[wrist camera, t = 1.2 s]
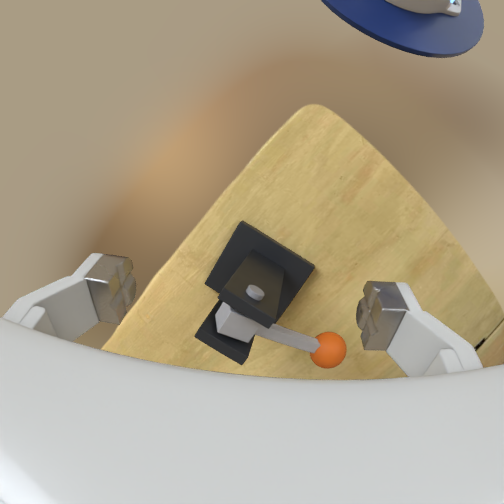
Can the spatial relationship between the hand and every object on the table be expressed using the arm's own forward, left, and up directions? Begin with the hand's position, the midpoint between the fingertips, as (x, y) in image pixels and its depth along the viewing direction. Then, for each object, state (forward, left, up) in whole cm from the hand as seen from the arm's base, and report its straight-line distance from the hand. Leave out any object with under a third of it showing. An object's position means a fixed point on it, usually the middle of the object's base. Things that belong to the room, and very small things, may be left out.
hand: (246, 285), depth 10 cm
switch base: (+8, +1, -25) cm, 26 cm away
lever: (+8, +5, -16) cm, 18 cm away
